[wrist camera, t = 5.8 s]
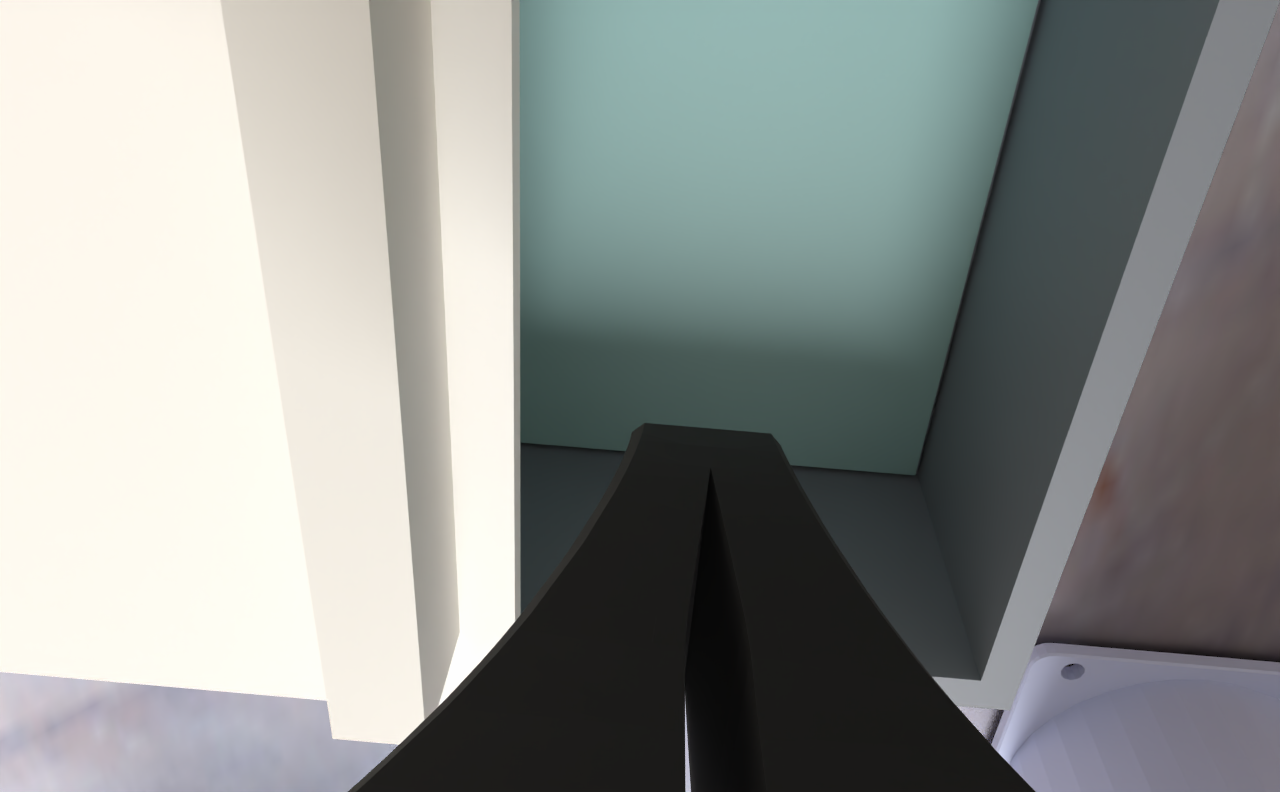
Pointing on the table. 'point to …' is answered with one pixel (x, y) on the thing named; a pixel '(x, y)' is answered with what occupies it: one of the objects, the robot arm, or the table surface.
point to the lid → (261, 347)
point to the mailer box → (866, 268)
